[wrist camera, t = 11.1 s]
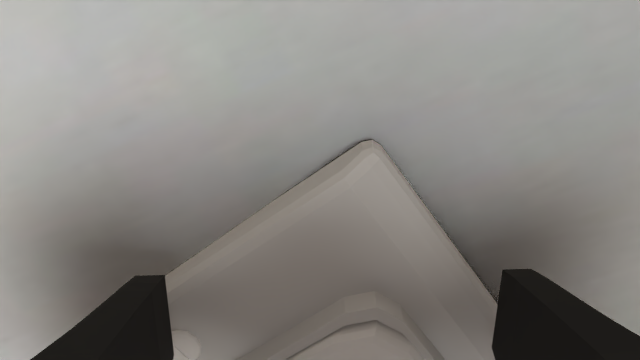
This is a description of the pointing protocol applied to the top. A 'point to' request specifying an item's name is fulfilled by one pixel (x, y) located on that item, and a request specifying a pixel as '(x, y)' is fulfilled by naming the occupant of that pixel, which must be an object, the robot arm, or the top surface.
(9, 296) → the top surface
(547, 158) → the top surface
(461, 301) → the light switch
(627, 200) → the top surface
